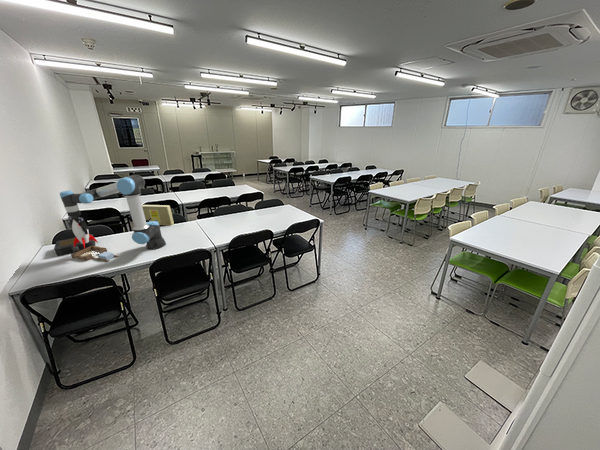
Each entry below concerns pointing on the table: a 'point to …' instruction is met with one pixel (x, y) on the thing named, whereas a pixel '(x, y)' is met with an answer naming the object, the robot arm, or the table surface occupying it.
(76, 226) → the rocket
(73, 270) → the table surface
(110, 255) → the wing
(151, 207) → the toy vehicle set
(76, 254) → the tray
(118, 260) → the table surface
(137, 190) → the robot arm
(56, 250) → the cash box
